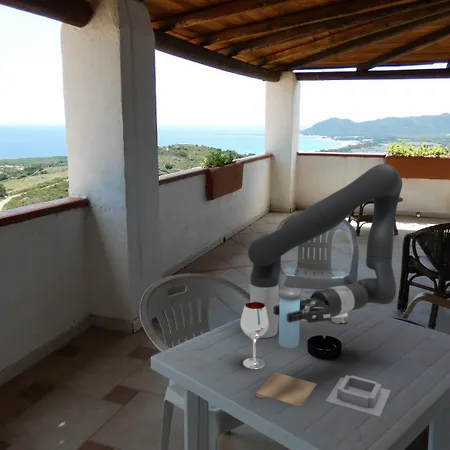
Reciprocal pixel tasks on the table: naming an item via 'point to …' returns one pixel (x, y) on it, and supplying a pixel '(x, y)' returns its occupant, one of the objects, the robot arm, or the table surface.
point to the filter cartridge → (286, 329)
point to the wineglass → (254, 329)
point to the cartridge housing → (359, 395)
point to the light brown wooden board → (286, 389)
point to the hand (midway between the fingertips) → (281, 314)
